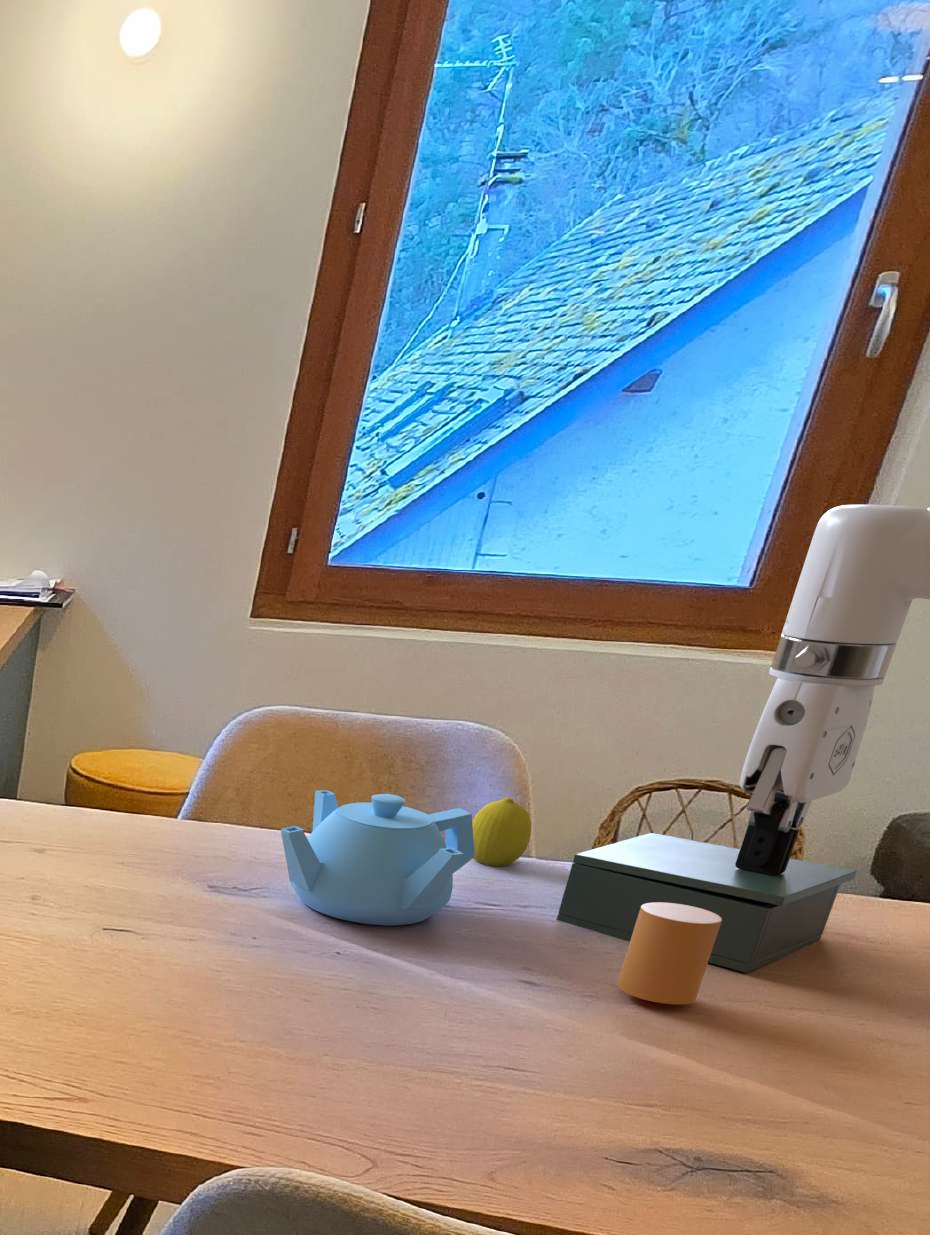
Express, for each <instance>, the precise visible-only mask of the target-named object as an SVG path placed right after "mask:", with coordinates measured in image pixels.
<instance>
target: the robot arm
mask: <svg viewBox="0 0 930 1235" xmlns="http://www.w3.org/2000/svg"><path fill="white" fill-rule="evenodd" d="M794 590H795V591H794V594H793V596H792V600H791V603H790V606H789V609H788V613H787V616H786V618H785V622H784V624H783V628H782V631H781V635H780V637H779V640H778V644H777V647H776V649H775V652H774V655H773V659H772V662H771V664H770V668H769V671H768V675H770V676H772V677H776V681H775V683H774V685H773V688H772V690H771V691H770V693H769V694H770V695H768V696H769V697H768V699H767V701H766V703H765V706H764V708H763V710H762V713H761V715H760V718H759V721H758V723H757V726H756V729H755V731H754V734H753V737H752V740H751V742H750V745H749V748H748V751H747V753H746V757H745V759H744V762H743V766H742V770H741V774H740V777H739V784H738V785H739V787H740V789H741V790H742V791H743V792H744V793H746V794H751V796H750V799H749V801H748V802H747V803H748V804H747V806H746V810H747V811H748V812H750V814H749V817H748V823H747V824H748V825H747V828H746V831H745V834H744V837H743V840H742V843H741V845H740V848H739V849H740V852H739V855H738V858H737V861H736V864H735V865H736V867H737V868H738V869H742V870H747V871H751V872H756V873H760V874H765V875H770V876H775V875H778V874H781V873H783V872H785V870H786V867H787V865H788V862H789V859H791V857H792V853H793V850H794V848H795V844H796V842H797V838H798V835H799V832H800V828H801V827H802V825H803V824H804V822H805V818H806V816H807V813H808V811H809V808H810V806H811V804H812V801H815V800H818V799H823V798H826V797H828V796H832V795H834V794H837V793H840V792H841V791H843V790H844V789H845V788H846V787H847V786H848V785H849V782H850V780H851V777H852V773H853V771H854V767H855V764H856V761H857V757H858V754H859V751H860V748H861V744H862V741H863V737H864V733H865V732H866V731H865V730H866V727H867V723H868V720H869V716H870V712H871V708H872V704H873V699H874V693H875V687H876V686H882V685H883V683H884V680H885V678H886V675H887V672H888V669H889V667H890V664H891V661H892V658H893V655H894V653H895V650H896V647H897V643H898V641H899V638H900V636H901V633H902V630H903V627H904V624H905V622H906V619H907V616H908V613H909V611H910V608H911V605H912V602H913V600H915V599H923V600H930V507H928V508H924V507H920V506H913V505H912V506H910V505H897V504H896V505H894V504H893V505H892V504H863V503H862V504H860V503H859V504H842V505H839V506H835V507H833V508H830V509H828V510H827V511H826V512H825V513H823V515H822V516H821V517H820V518H819V521H818V522H817V525H816V527H815V529H814V532H813V535H812V539H811V542H810V545H809V548H808V551H807V554H806V557H805V560H804V562H803V566H802V569H801V572H800V575H799V579H798V582H797V584H796V588H795V589H794Z"/></svg>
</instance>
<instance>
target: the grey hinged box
mask: <svg viewBox="0 0 930 1235" xmlns="http://www.w3.org/2000/svg"><path fill="white" fill-rule="evenodd" d="M840 887H841V884H840V885H837V886H834V887H831V888H829V889H826V890H823V891H821V892H818V893H815V894H812V895H810V896H807V897H804V898H801V899H799V900H796V901H793V902H791V903H788V904H785V905H782V906H780V905H775V904H770V903H766V902H761V901H756V900H751V899H746V898H742V897H737V896H732V895H727V894H722V893H718V892H713V891H708V890H703V889H698V888H694V887H689V886H684V885H679V884H674V883H670V882H665V881H660V880H655V879H650V878H646V877H641V876H636V875H631V874H626V873H622V872H617V871H612V870H607V869H602V868H598V867H593V866H588V865H583V864H578V863H574V862H572V863H571V867H570V871H569V874H568V877H567V881H566V885H565V888H564V892H563V895H562V898H561V902H560V905H559V909H558V911H557V912H558V913H557V916H556V921H559V922H562V923H566V924H569V925H572V926H575V927H580V928H583V929H585V930H590V931H593V932H596V933H600V934H603V935H607V936H610V937H612V938H616V939H621V940H623V941H627V942H630V940H631V937H632V934H633V931H634V927H635V924H636V921H637V918H638V914H639V911H640V908H641V906H642V905H643V904H646V903H653V902H664V903H675V904H682V905H688V906H693V907H697V908H701V909H704V910H707V911H710V912H713V913H715V914H717V915H719V916H720V917H721V918H722V922H721V925H720V928H719V931H718V934H717V937H716V940H715V943H714V946H713V949H712V952H711V955H710V958H709V961H708V964H711V965H712V964H713V965H715V966H720V967H723V968H728V969H731V970H734V971H738V972H742V973H747V974H748V973H749V972H752V971H754V970H757V969H759V968H762V967H764V966H767V965H768V964H772V963H773V962H776V961H779V960H781V959H784V958H785V957H787V956H790V955H791V954H794V953H796V952H798V951H800V950H803V949H805V948H806V947H809V946H810V945H812V944H815V943H816V942H818V941H820V940H821V939H822V936H823V934H824V932H825V928H826V926H827V923H828V920H829V917H830V914H831V913H832V912H831V911H832V909H833V906H834V904H835V901H836V898H837V896H838V892H839V890H840Z"/></svg>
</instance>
